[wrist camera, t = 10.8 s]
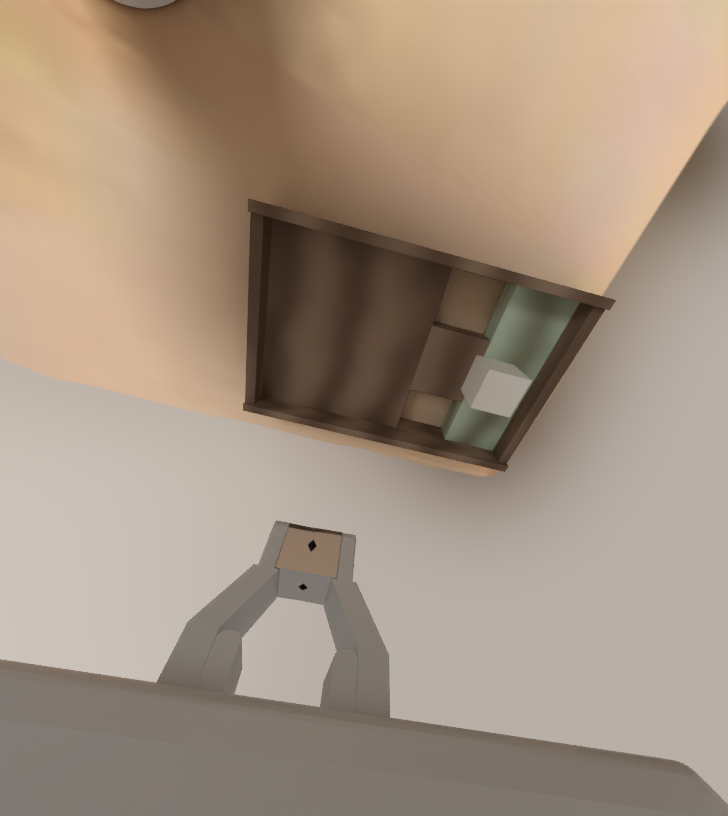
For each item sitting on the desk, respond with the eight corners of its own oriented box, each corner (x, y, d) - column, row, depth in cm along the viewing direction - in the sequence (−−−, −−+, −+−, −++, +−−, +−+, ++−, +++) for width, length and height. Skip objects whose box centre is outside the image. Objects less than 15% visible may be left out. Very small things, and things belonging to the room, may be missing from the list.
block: (460, 389, 30) (470, 407, 27) (476, 354, 28) (489, 369, 25) (495, 398, 30) (509, 417, 27) (514, 364, 29) (531, 380, 25)
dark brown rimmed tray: (260, 390, 35) (243, 410, 30) (271, 207, 26) (248, 198, 21) (490, 445, 36) (504, 471, 32) (579, 292, 27) (616, 300, 23)
